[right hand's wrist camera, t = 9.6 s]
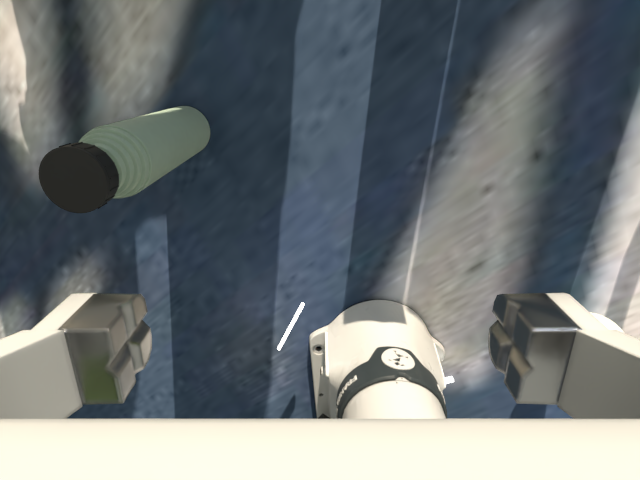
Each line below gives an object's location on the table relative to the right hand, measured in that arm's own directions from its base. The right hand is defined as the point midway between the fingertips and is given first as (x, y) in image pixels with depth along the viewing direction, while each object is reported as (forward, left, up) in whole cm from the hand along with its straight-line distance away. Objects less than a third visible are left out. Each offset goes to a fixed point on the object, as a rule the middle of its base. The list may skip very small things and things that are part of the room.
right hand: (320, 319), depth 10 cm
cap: (-3, +15, -18) cm, 23 cm away
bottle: (-3, +15, -42) cm, 45 cm away
